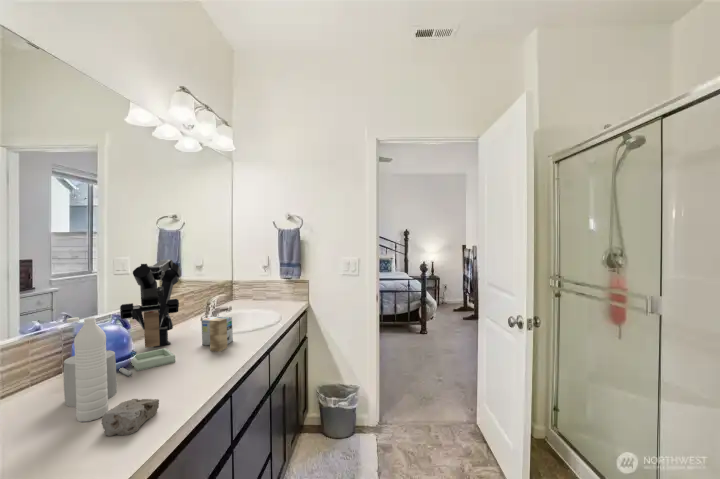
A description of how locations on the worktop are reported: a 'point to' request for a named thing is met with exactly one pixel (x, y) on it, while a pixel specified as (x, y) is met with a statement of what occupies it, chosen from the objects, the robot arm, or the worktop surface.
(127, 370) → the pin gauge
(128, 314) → the robot arm
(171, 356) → the tray
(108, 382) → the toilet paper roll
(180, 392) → the worktop surface
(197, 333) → the worktop surface
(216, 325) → the oak block
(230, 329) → the light bulb box
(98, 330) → the water bottle
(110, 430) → the stone
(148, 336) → the walnut block
